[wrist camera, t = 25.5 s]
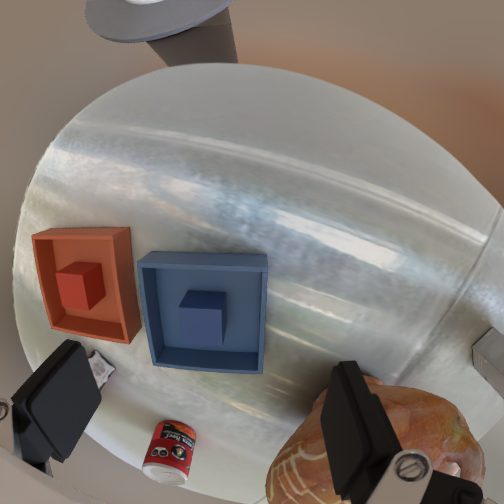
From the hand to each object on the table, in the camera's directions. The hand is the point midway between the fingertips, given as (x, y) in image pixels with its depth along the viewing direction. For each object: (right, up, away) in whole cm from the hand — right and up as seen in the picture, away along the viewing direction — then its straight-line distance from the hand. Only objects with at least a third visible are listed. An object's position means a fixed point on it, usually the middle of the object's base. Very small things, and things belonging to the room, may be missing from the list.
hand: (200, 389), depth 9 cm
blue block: (-4, -2, +25) cm, 26 cm away
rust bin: (-21, +1, +25) cm, 33 cm away
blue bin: (-4, -2, +26) cm, 26 cm away
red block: (-21, +1, +25) cm, 32 cm away
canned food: (-12, -29, +34) cm, 46 cm away
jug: (+18, -20, +31) cm, 41 cm away
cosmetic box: (+48, -14, +28) cm, 57 cm away
